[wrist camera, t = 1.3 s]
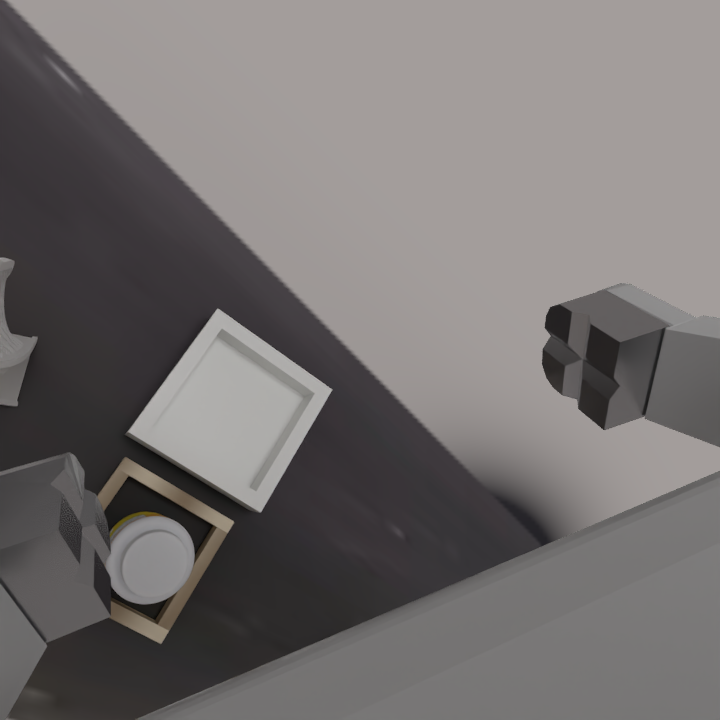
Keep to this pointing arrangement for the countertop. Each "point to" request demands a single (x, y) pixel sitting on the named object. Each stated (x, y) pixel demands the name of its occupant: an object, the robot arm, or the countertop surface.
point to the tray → (231, 412)
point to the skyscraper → (11, 348)
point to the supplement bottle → (149, 557)
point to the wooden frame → (202, 558)
